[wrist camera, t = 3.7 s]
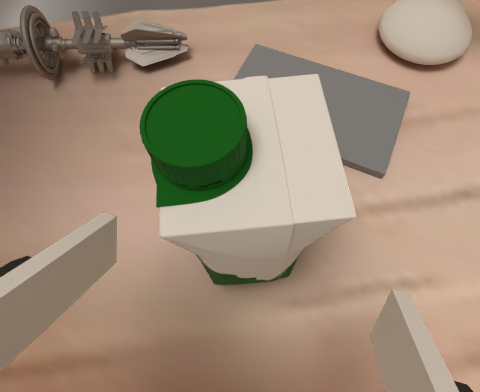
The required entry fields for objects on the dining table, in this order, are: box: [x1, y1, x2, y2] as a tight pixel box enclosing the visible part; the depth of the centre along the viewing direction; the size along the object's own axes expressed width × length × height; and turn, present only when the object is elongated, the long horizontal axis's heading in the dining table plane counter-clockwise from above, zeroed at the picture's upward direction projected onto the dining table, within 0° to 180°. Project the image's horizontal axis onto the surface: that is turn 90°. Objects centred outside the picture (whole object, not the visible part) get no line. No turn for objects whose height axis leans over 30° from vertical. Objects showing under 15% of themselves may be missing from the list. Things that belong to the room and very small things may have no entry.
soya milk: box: [140, 74, 356, 284], centre depth 20 cm, size 9×9×20 cm
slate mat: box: [234, 44, 410, 178], centre depth 35 cm, size 20×12×1 cm, turn 65°
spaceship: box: [0, 5, 188, 80], centre depth 36 cm, size 8×35×8 cm
